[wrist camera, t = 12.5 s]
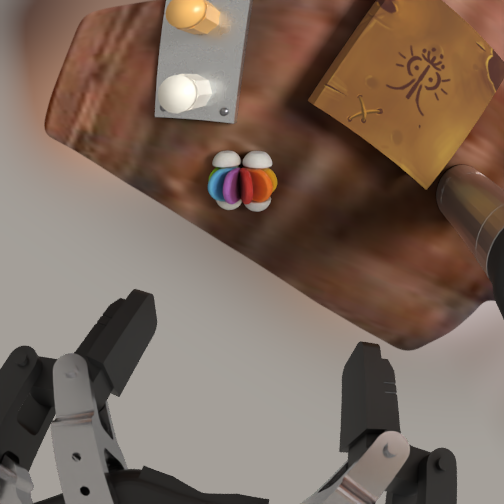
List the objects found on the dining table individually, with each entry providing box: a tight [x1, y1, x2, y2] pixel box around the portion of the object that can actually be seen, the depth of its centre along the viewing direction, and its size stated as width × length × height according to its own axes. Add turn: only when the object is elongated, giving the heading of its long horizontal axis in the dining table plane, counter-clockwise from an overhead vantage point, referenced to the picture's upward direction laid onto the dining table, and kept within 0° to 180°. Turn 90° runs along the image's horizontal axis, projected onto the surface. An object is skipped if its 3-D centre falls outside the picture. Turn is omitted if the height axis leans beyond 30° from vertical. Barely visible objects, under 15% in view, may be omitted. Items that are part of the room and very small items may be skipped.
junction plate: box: [155, 0, 253, 124], centre depth 30 cm, size 12×22×6 cm, turn 173°
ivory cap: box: [158, 74, 212, 114], centre depth 33 cm, size 5×5×6 cm
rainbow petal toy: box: [208, 151, 277, 211], centre depth 39 cm, size 8×10×7 cm
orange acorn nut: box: [166, 0, 220, 34], centre depth 26 cm, size 5×5×6 cm
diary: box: [308, 0, 504, 190], centre depth 27 cm, size 23×19×6 cm
